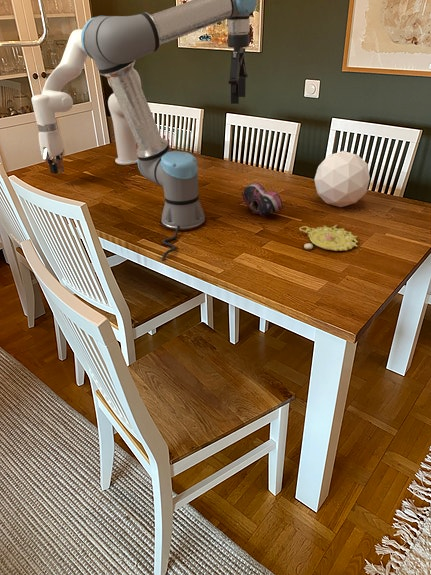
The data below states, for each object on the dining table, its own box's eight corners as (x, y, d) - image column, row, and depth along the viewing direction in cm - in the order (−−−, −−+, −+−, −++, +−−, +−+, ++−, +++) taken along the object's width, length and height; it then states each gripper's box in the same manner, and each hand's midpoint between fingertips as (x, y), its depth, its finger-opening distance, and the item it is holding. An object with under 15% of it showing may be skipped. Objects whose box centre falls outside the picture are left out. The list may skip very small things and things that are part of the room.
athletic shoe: (254, 181, 170) (227, 189, 167) (283, 176, 151) (253, 185, 147) (260, 210, 173) (234, 218, 170) (290, 209, 154) (261, 219, 150)
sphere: (345, 225, 166) (360, 196, 147) (300, 198, 170) (308, 167, 152) (371, 189, 170) (388, 157, 152) (326, 164, 175) (337, 130, 156)
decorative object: (343, 255, 128) (285, 234, 139) (342, 262, 130) (284, 241, 140) (372, 230, 142) (317, 213, 152) (371, 237, 143) (316, 219, 153)
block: (56, 170, 193) (53, 159, 190) (64, 170, 192) (62, 159, 189) (50, 173, 190) (48, 162, 187) (59, 173, 189) (56, 162, 186)
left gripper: (51, 122, 188) (60, 165, 198) (27, 132, 175) (38, 177, 185) (66, 123, 187) (75, 166, 197) (44, 132, 173) (54, 178, 183)
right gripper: (234, 32, 163) (234, 94, 174) (219, 36, 142) (221, 106, 154) (254, 31, 161) (253, 94, 173) (242, 36, 141) (242, 106, 152)
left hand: (57, 171), depth 191 cm, fingers closed on block, 4 cm apart
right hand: (238, 100), depth 163 cm, fingers open, 13 cm apart
